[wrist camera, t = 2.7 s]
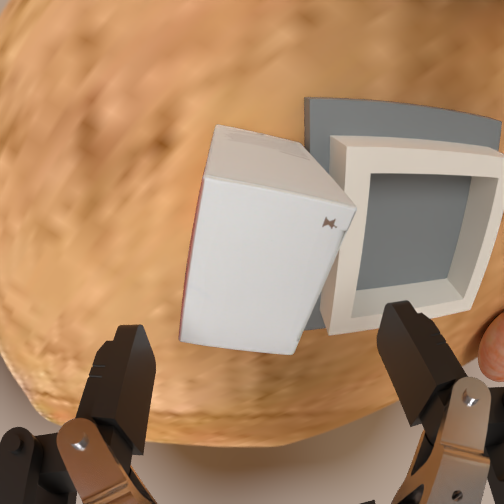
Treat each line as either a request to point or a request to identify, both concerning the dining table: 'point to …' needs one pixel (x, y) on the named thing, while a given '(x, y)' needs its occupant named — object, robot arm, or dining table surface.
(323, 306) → the socket board
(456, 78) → the dining table surface
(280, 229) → the small box
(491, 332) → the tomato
